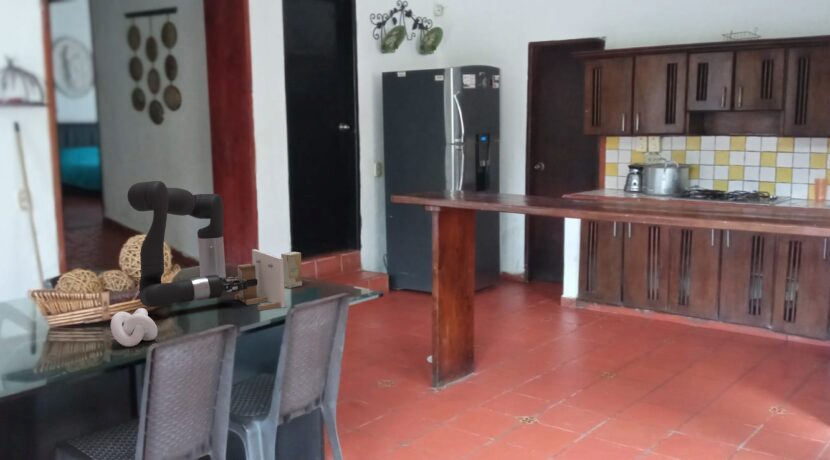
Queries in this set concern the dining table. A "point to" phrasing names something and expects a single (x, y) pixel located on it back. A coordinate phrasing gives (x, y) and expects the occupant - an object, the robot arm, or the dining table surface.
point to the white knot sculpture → (133, 327)
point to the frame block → (246, 274)
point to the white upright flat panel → (268, 281)
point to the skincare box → (292, 269)
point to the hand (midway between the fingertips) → (253, 280)
